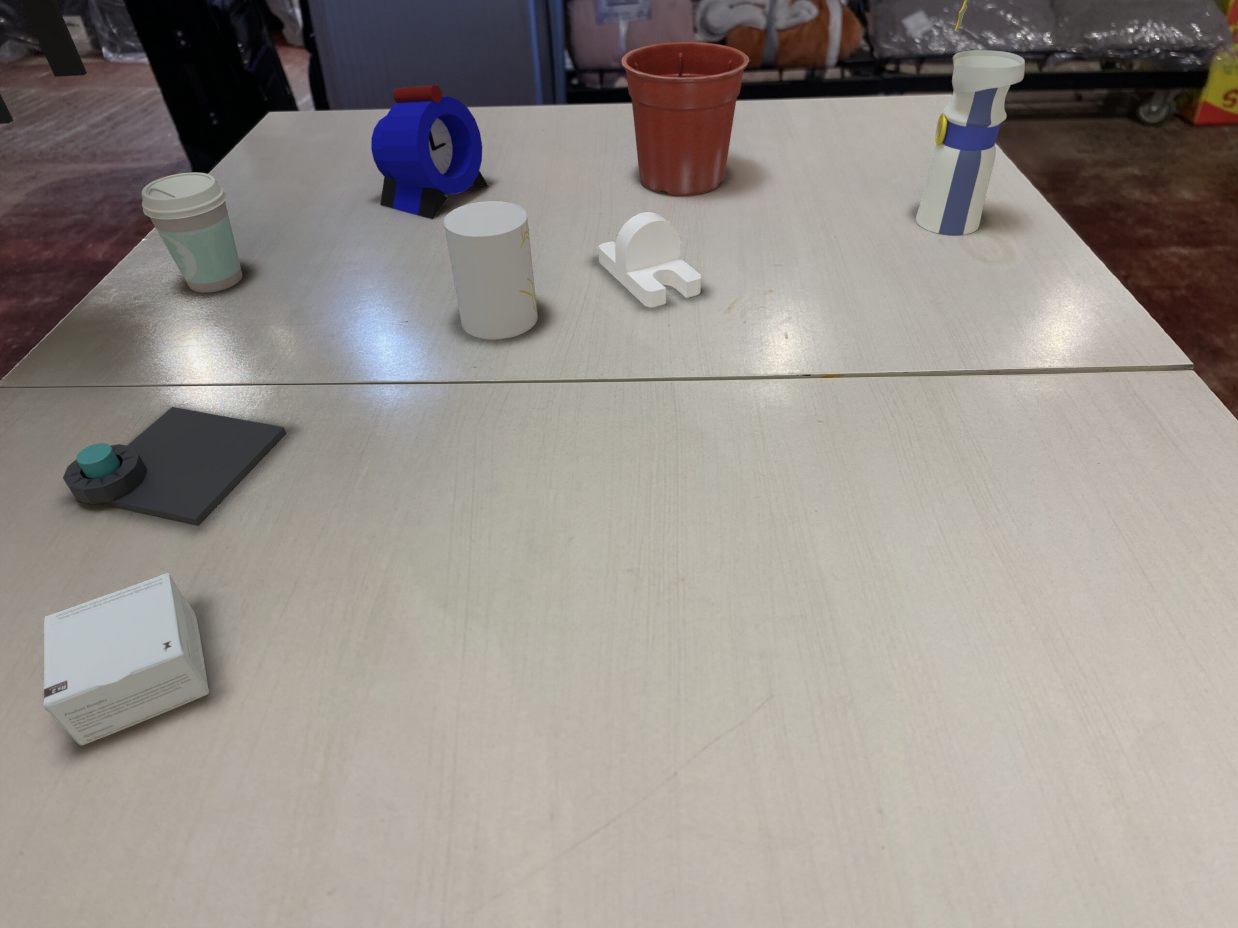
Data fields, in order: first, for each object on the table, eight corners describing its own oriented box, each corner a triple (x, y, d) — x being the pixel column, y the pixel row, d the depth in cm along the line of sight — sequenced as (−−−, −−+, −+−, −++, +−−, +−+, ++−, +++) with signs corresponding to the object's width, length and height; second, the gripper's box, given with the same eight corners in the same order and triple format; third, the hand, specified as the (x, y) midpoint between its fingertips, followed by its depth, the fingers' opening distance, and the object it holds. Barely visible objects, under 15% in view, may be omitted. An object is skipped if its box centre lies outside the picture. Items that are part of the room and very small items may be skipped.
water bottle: (915, 235, 100) (967, 10, 84) (909, 207, 106) (957, -8, 90) (985, 239, 99) (1052, 11, 82) (975, 210, 105) (1035, -7, 89)
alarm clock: (436, 220, 107) (414, 101, 97) (369, 202, 112) (342, 88, 102) (493, 187, 115) (478, 75, 105) (428, 172, 120) (408, 63, 110)
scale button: (78, 476, 65) (68, 460, 64) (102, 456, 67) (92, 440, 66) (104, 482, 65) (94, 466, 64) (127, 461, 67) (118, 445, 65)
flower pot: (708, 213, 107) (715, 84, 96) (602, 190, 113) (598, 67, 103) (757, 170, 117) (768, 50, 107) (657, 152, 124) (658, 37, 113)
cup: (547, 334, 85) (537, 227, 77) (472, 352, 83) (454, 243, 75) (525, 299, 91) (514, 195, 83) (454, 314, 88) (435, 209, 80)
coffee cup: (180, 276, 97) (138, 177, 89) (254, 262, 99) (220, 165, 91) (177, 309, 91) (132, 207, 83) (257, 294, 93) (220, 193, 85)
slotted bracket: (703, 298, 90) (706, 232, 85) (648, 314, 87) (648, 247, 82) (647, 252, 99) (647, 190, 93) (596, 265, 96) (593, 202, 91)
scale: (65, 508, 66) (47, 482, 64) (171, 417, 75) (158, 391, 74) (195, 538, 63) (180, 510, 61) (288, 439, 73) (278, 412, 71)
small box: (199, 616, 57) (171, 568, 54) (214, 700, 52) (184, 653, 49) (78, 661, 55) (40, 613, 51) (81, 754, 50) (39, 708, 46)
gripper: (-184, -214, 48) (4, 145, 62) (26, -220, 67) (134, 57, 81) (-312, -210, 48) (-94, 149, 62) (-65, -216, 67) (59, 60, 81)
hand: (35, 97), depth 71 cm, fingers open, 13 cm apart
